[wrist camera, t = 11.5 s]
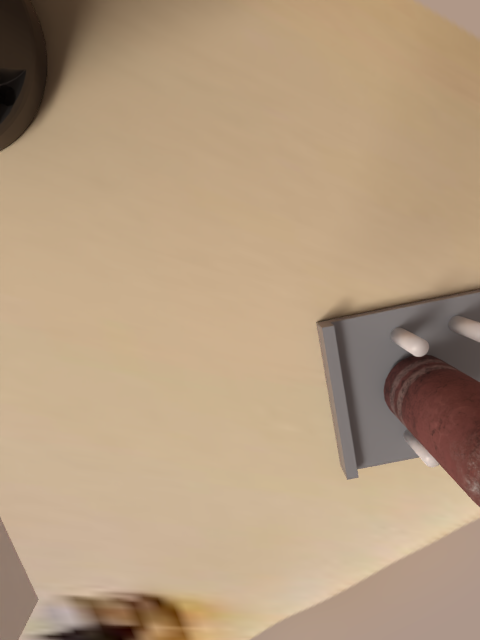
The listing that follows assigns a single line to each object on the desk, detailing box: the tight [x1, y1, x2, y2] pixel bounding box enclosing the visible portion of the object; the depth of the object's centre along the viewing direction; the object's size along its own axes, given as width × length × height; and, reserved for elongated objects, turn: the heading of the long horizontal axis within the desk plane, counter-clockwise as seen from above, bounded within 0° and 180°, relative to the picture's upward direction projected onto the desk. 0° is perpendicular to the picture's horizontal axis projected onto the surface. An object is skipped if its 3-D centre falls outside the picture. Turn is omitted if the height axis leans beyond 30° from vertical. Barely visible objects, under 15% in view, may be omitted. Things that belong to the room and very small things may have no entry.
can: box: [383, 355, 480, 507], centre depth 28 cm, size 6×6×14 cm
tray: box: [316, 289, 480, 480], centre depth 34 cm, size 14×18×5 cm
